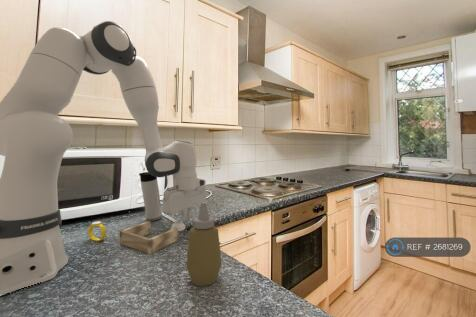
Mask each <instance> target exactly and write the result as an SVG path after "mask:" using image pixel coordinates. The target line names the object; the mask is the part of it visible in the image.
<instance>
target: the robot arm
mask: <svg viewBox="0 0 476 317" xmlns="http://www.w3.org/2000/svg"><path fill="white" fill-rule="evenodd" d="M83 71H85V72H86V73H89V74H92V75H95V76H96V75H104V74H107V73H109V72H110V71H111V73H113V75H114V76H115V77H116V79H117V81H118V82H119V86H120V91H121V94H122V97H123V101H124V103H125V105H126V107H127V109H128V111H129V112H130V113H129V114H130V115H131V117H132V118H133V119H134V121H135V122H136V123H137V125H138V128H139V130H140V133H141V135H142V139H143V143H144V146H145V156H144V165H145V168H146V172H149V173H150V174H151V175H152V176H154V177H157V178H166V177H168V176H172V186H171V187H167V188H166V189H165V190H164V192H163V198H162V206H161V210H162V213H164V214H165V215H170V216H172V215H173V214H177V213H180V215H181V221H187V220H189V219H191V217H192V212H193V207H194V206H197V205H199V204H200V205H201V203H206V199H207V188H206V183H207V182H206V179H202V178H199V177H198V174H197V171H196V168H197V153H196V152H197V151H196V147H195V144H193V143H192V142H190V141H184V140H174V141H173V142H171V143H169V144H168V145H166V146H163V143H162V138H161V136H160V135H161V134H160V132H159V126H158V113H159V109H160V108H159V96H158V95H159V94H158V91H157V87H156V83H155V81H154V77H153V75H152V72H151V71H150V68H149V66H148V64H147V62H146V61H145V60H144V59H143V58H142V57H140V56H137V48H136V47H135V46H134V43H133V40H132V38H131V37H130V35H129V34H128V32H127V31H126V30H125V29H124V28H123V26H121V25H120V24H119V23H117V22H114V21H109V20H107V21H101V22H100V23H96V24H95V25H94V26H93V28H92V29H90V30H89V31H88V32H87V33H85V34H84V35H82V36H80V35H78V34H76V33H75V32H72V31H71V30H69V29H67V28H63V27H57V26H56V27H51V28H49V29H48V30H47V31H46V32H44V34H43V35H41V37H40V38H39V39H38V41H37V42H36V44H34V47H33V48H32V49H31V52H30V53H29V55H28V58H27V59H26V61H25V64H24V65H23V67H22V70H21V72H20V74H19V76H18V77H17V79H16V81H15V82H14V84H13V86H12V87H11V88H10V89H9V91H8V92H7V93H6V95H5V96H4V97H3V98H2V100H1V101H0V156H2V157H4V161H3V162H4V163H3V166H2V171H1V175H0V294H2V293H5V292H10V291H13V290H17V289H21V288H24V287H27V288H29V287H28V286H30V287H32V286H31V285H33V286H35V285H34V284H36V285H38V284H37V283H39V284H41V283H44V282H47V281H50V280H52V279H54V278H56V276H57V275H58V272H59V271H60V270H61V269H63V268H64V267H65V266H66V265H67V264H68V262H69V256H68V255H67V252H66V250H65V247H64V242H63V238H62V232H61V230H62V215H61V214H62V213H61V209H60V208H59V199H58V193H59V192H58V178H59V173H60V168H61V164H62V160H63V158H64V155H65V152H66V151H67V150H68V149H69V148H70V147H71V145H72V143H73V139H74V138H73V137H74V135H73V129H72V126H70V124H69V123H68V121H67V120H66V119H64V118H62V117H61V116H59V114H60V113H61V112H62V111H63V110H64V109H65V108H66V107H68V105H70V103H71V101H72V98H73V96H74V93H75V91H76V89H77V86H78V83H79V82H80V79H81V77H82V74H83ZM40 282H41V283H40ZM24 289H25V288H24ZM21 290H22V289H21Z"/></svg>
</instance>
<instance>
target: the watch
mask: <svg viewBox="0 0 476 317" xmlns="http://www.w3.org/2000/svg"><path fill="white" fill-rule="evenodd" d="M94 227H99V229H100V231H101V237H100V238H98V237H96V236H95V234H94V233H93V228H94ZM87 231H88V232H87V234H88V237H89V239H91V241H94V242H100V241H101V242H102V241H103V240H104V239H105V238H106V237H107V235H106V234H107V231H106V227H105V225H104V224H102V221H98V220H97V221H93V222H92V223H91V225H89V227H88V230H87Z"/></svg>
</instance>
